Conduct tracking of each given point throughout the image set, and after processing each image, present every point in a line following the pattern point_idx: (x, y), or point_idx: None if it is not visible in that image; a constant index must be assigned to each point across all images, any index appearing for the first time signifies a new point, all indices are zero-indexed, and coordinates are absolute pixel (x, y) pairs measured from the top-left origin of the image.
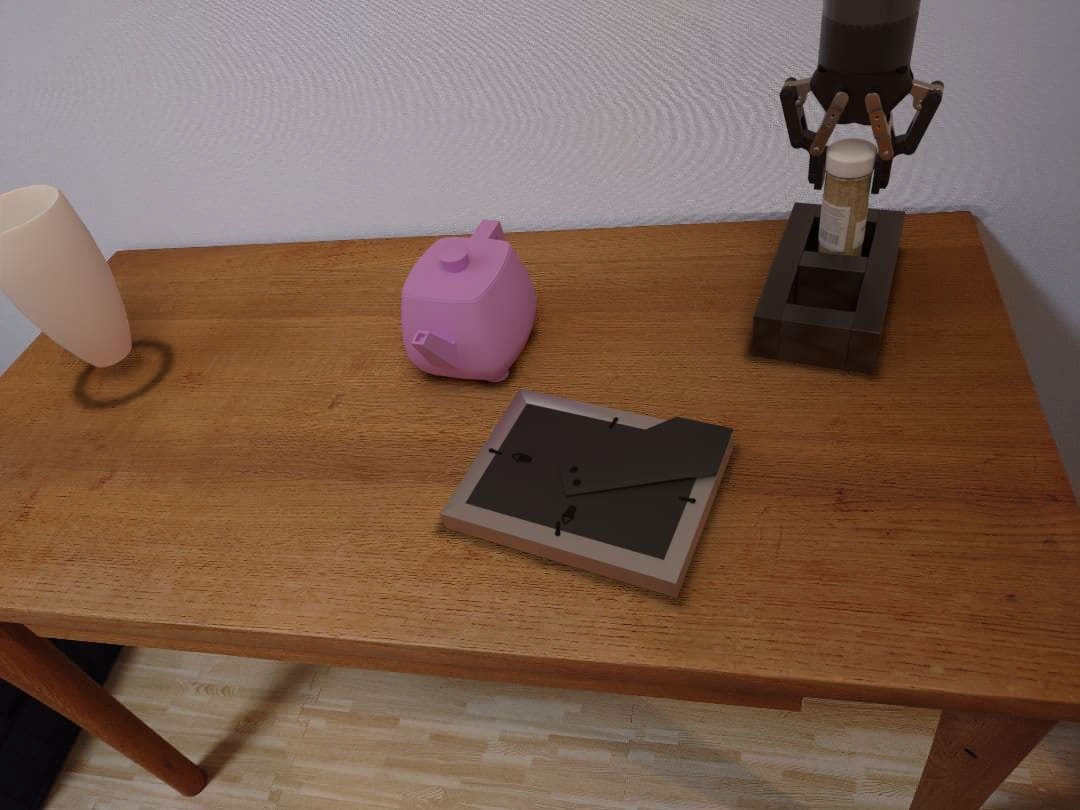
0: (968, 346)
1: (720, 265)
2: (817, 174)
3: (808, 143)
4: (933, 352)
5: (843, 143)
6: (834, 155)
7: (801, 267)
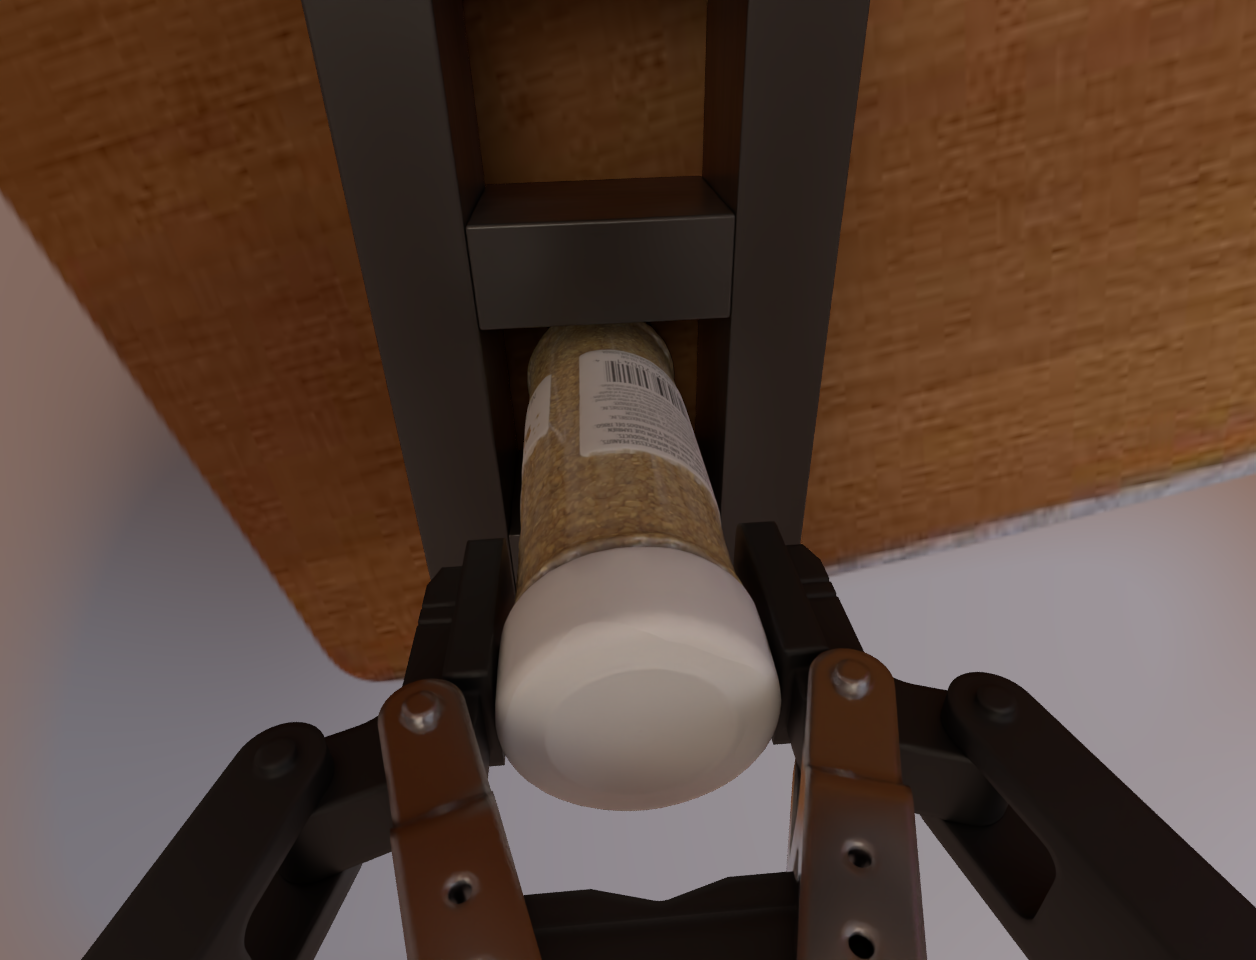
0: (72, 81)
1: (968, 331)
2: (784, 573)
3: (911, 718)
4: (165, 6)
5: (697, 764)
6: (731, 661)
7: (721, 210)
